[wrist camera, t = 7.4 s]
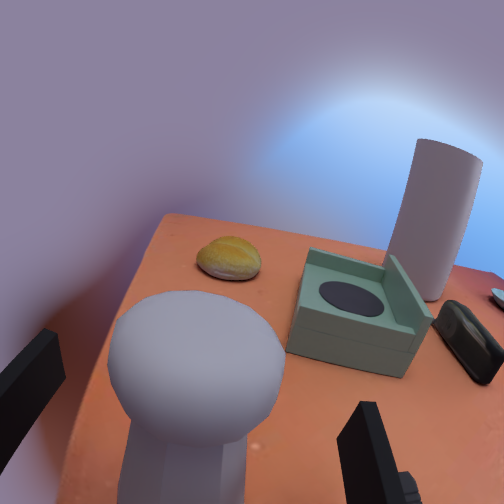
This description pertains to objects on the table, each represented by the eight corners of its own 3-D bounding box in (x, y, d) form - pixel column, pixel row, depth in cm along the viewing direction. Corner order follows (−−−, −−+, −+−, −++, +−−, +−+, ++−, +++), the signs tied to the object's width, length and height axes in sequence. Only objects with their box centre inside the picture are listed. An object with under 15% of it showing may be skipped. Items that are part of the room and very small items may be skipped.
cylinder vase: (450, 307, 45) (496, 167, 36) (391, 295, 45) (438, 138, 37) (423, 279, 57) (459, 160, 48) (370, 266, 57) (406, 138, 48)
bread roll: (186, 270, 39) (190, 240, 38) (213, 251, 48) (218, 226, 46) (247, 290, 38) (254, 260, 36) (265, 266, 46) (271, 241, 45)
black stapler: (512, 352, 23) (452, 290, 37) (499, 353, 23) (437, 288, 37) (490, 387, 25) (438, 320, 39) (475, 389, 25) (423, 318, 39)
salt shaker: (177, 580, 7) (191, 488, 3) (101, 503, 10) (36, 289, 6) (256, 518, 12) (362, 334, 8) (181, 458, 15) (207, 253, 11)
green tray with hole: (285, 351, 27) (306, 284, 25) (300, 279, 44) (313, 232, 42) (402, 378, 26) (434, 317, 23) (378, 300, 43) (394, 255, 40)
